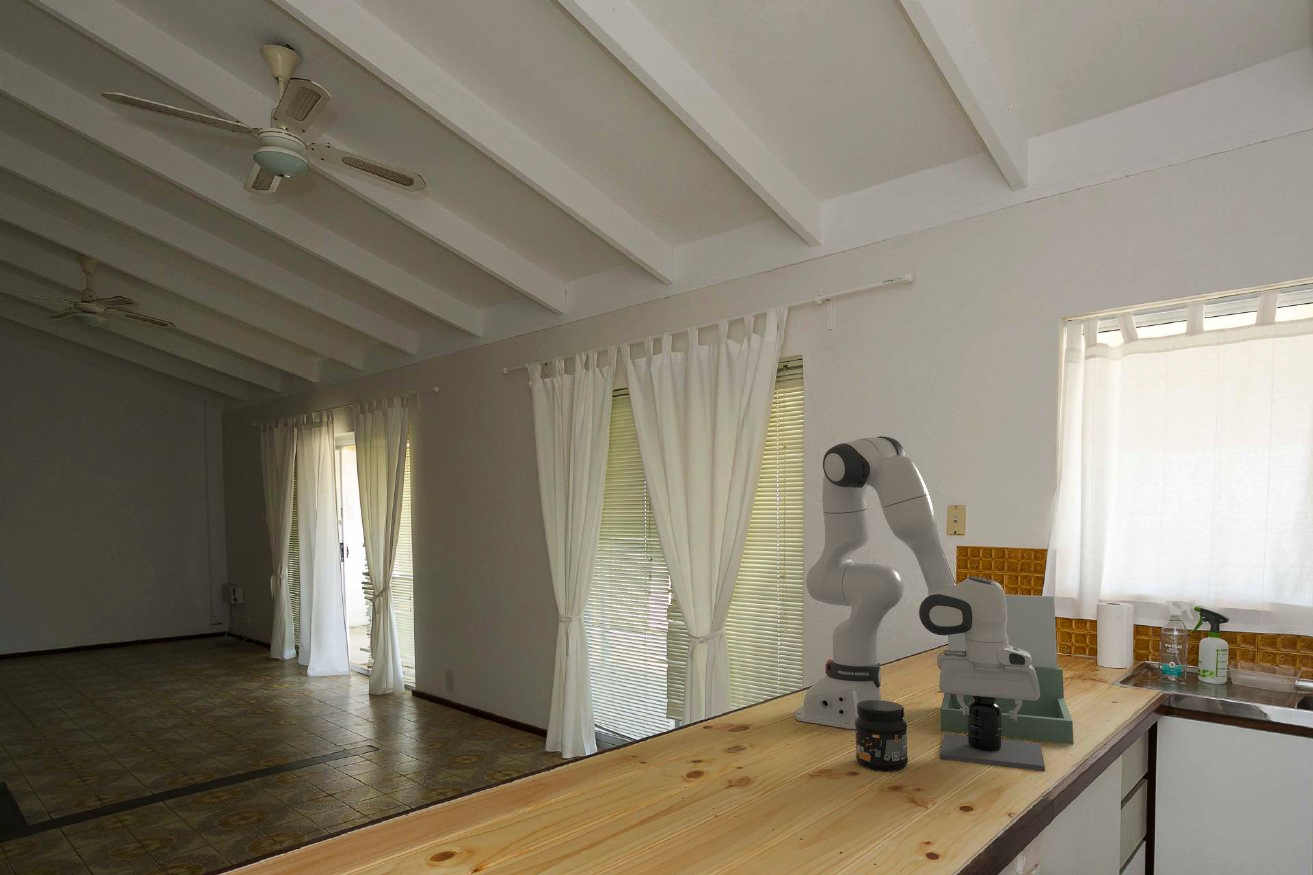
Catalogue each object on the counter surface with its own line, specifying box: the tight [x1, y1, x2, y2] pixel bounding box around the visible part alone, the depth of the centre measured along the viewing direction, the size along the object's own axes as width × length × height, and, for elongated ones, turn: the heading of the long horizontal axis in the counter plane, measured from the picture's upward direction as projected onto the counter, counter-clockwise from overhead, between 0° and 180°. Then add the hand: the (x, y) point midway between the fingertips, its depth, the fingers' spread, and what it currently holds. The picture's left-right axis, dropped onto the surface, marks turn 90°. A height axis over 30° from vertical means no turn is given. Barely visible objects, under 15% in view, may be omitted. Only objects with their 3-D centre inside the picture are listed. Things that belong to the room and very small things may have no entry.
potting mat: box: [939, 733, 1046, 772], centre depth 169 cm, size 20×16×1 cm
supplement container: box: [855, 699, 909, 772], centre depth 163 cm, size 10×10×12 cm
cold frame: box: [940, 594, 1075, 745], centre depth 193 cm, size 28×25×30 cm
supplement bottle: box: [967, 696, 1003, 751], centre depth 171 cm, size 7×7×12 cm
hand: (989, 717), depth 170 cm, fingers open, 8 cm apart
